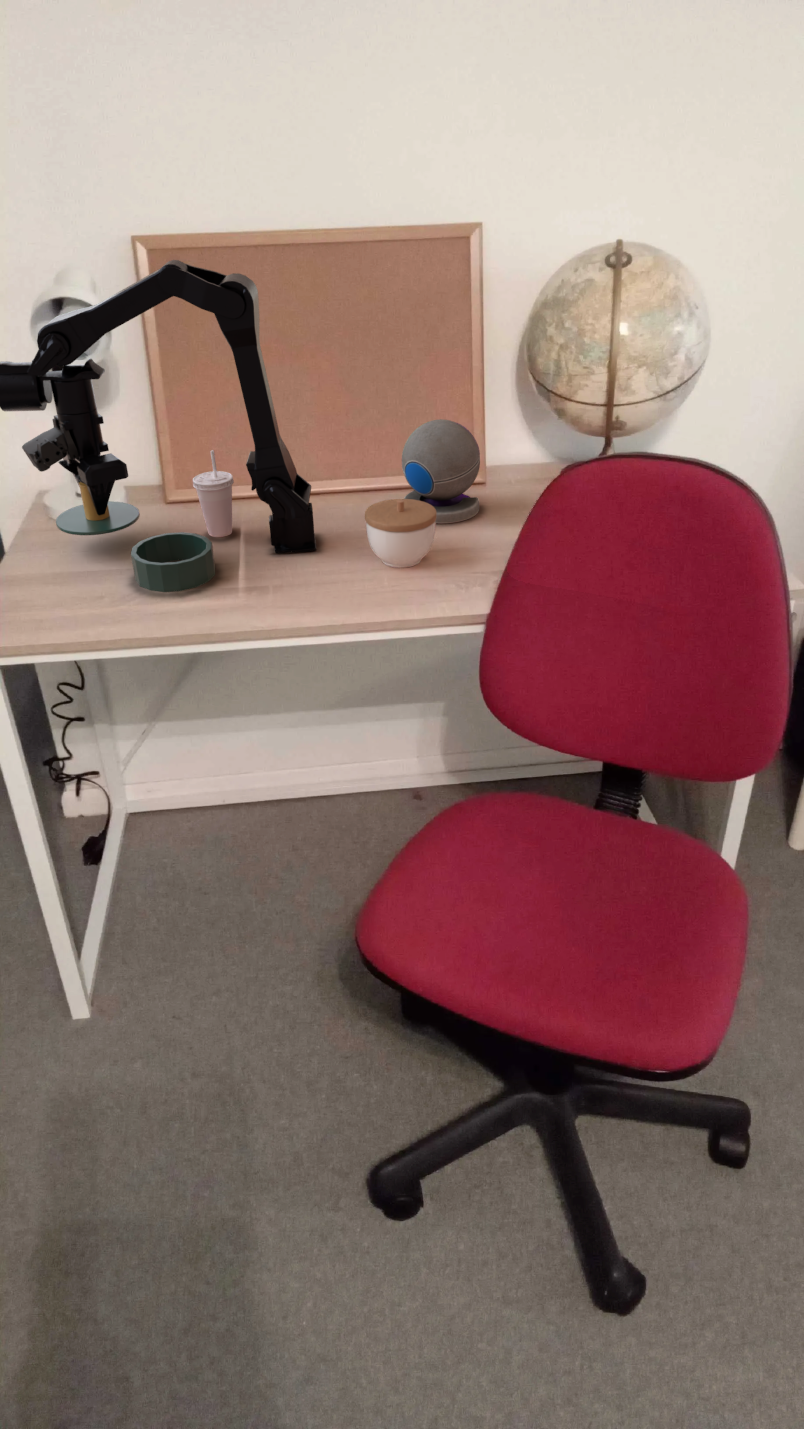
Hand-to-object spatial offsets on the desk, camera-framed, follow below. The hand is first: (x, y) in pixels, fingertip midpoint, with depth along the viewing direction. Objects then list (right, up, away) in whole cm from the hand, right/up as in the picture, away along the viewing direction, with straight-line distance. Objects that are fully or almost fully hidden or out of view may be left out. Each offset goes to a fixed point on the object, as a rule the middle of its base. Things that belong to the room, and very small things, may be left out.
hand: (96, 510), depth 153 cm
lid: (0, -1, +1) cm, 1 cm away
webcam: (+54, +3, +15) cm, 56 cm away
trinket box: (+47, -8, -1) cm, 48 cm away
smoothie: (+18, -3, +8) cm, 20 cm away
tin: (+14, -11, -5) cm, 18 cm away
